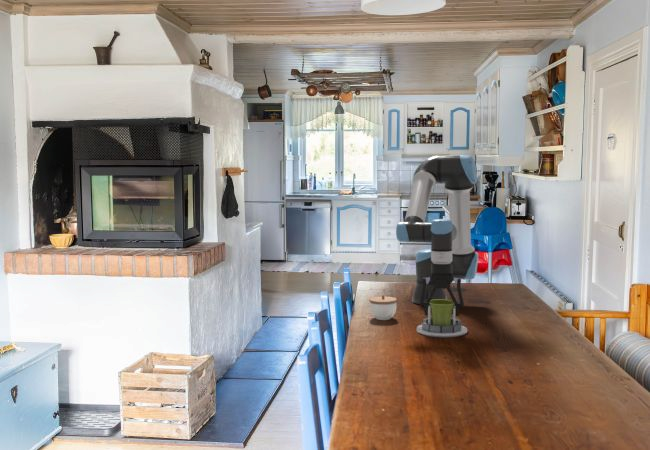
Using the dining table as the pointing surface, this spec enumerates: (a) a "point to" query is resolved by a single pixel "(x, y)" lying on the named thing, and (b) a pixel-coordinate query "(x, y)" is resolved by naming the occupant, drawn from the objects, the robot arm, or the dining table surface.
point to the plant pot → (441, 311)
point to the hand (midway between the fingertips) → (441, 324)
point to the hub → (442, 329)
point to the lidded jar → (383, 307)
